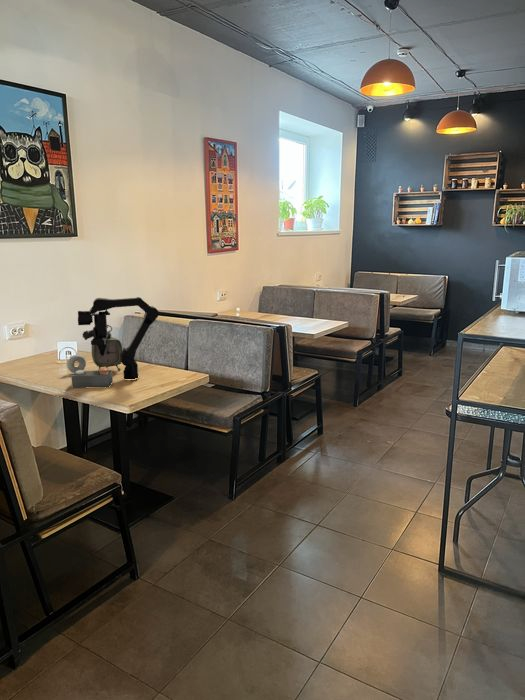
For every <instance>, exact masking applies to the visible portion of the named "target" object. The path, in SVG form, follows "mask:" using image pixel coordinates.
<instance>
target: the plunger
mask: <svg viewBox="0 0 525 700" xmlns="http://www.w3.org/2000/svg"><path fill="white" fill-rule="evenodd" d="M85 371H86V370H85V369H84V370H79V371H76V372H75V373H76V375H85Z"/></svg>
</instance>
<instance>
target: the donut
mask: <svg viewBox="0 0 525 700" xmlns="http://www.w3.org/2000/svg"><path fill="white" fill-rule="evenodd" d="M76 362H78V366H76V365H75V363H76ZM86 363H87V361H86V358H85V357H84V356H83V355H81V354H73V355H72V356H70V357H69V358H68V361H67V365H66V367H67V369H68V370H69V371H70V372H71V373H73V374H74V373H75V372H76V371H79V370H84V371H85V368H86V365H87V364H86Z"/></svg>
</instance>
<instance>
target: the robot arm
mask: <svg viewBox="0 0 525 700" xmlns="http://www.w3.org/2000/svg"><path fill="white" fill-rule="evenodd" d="M124 307H125V308H126V307H139V308H140V309H141V310H142V311H144V315H143V318H142V322H141V324H140V326H139V327H138V329H137V330H136V332H135V335H134V336H133V339H132V340H131V342H130V344H129V345H128V346H127V348H126V347H122V353H121V354H120V355H121V357H120V359H121V364H122V365H123V366H125V367H124V369H123V380H124V379H135V378H138V376H139V365H138V362H137V360H136V359H135V358H136V352H137V350H138V348H139V346H140V344H141V342H142V341H143V339H144V337H145V335H146V334H147V331H148V329H149V328H150V327H151V325H152V324H153V323H154V322H155V321H156V320H157V318H158V317H159V315H160V313H159V310H158V308H157V307H155V306H153V305H151V306H150V305H149V304H148V303H147V302H146V301H145V300H144V299H142V297H139V296H137V297H130V298H128V297H127V298H115V299H114V298H113V299H112V298H104V297H96V298H95V299H94V300H93V302H92V306H91V308H90V309H89V310H78V311H77V325H78V326H91V324H92V323H94V326H93V327H92V329H90V330H86V331H83V333H82V338H83V339H84V341H86V340H88V339H91V338H92V339H91V340H90V345H91V346H92V345H97V346H98V348H99V351H100V354H101V356H104V354H105V351H106V348H107V345H108V343H109V340H106V339H105V338H109V339H111V337H112V333H111V332H107V331H108V328H109V326H107V325H108V322H107V316H110V315H111V313H110V312H109V311H108V310H110V309H114V308H124ZM97 312H98V313H97ZM138 379H139V378H138Z"/></svg>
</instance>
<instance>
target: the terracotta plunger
mask: <svg viewBox="0 0 525 700" xmlns="http://www.w3.org/2000/svg"><path fill="white" fill-rule="evenodd" d="M98 370H99V372H100V374H108V371H109V367H108V368H106V367H101V368H100V369H99V368H98Z"/></svg>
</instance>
